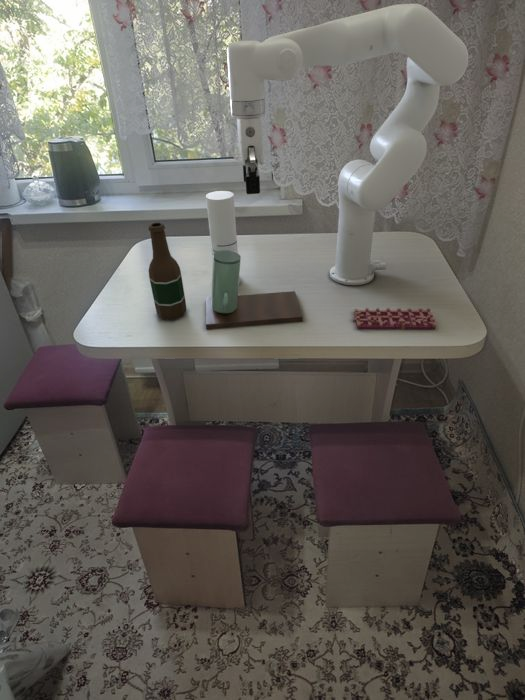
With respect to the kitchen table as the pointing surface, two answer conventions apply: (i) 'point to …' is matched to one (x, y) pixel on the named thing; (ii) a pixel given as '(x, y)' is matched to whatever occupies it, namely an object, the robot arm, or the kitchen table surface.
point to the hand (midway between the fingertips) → (251, 187)
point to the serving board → (257, 311)
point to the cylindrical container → (222, 221)
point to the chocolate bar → (394, 319)
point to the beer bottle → (165, 277)
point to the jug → (225, 281)
